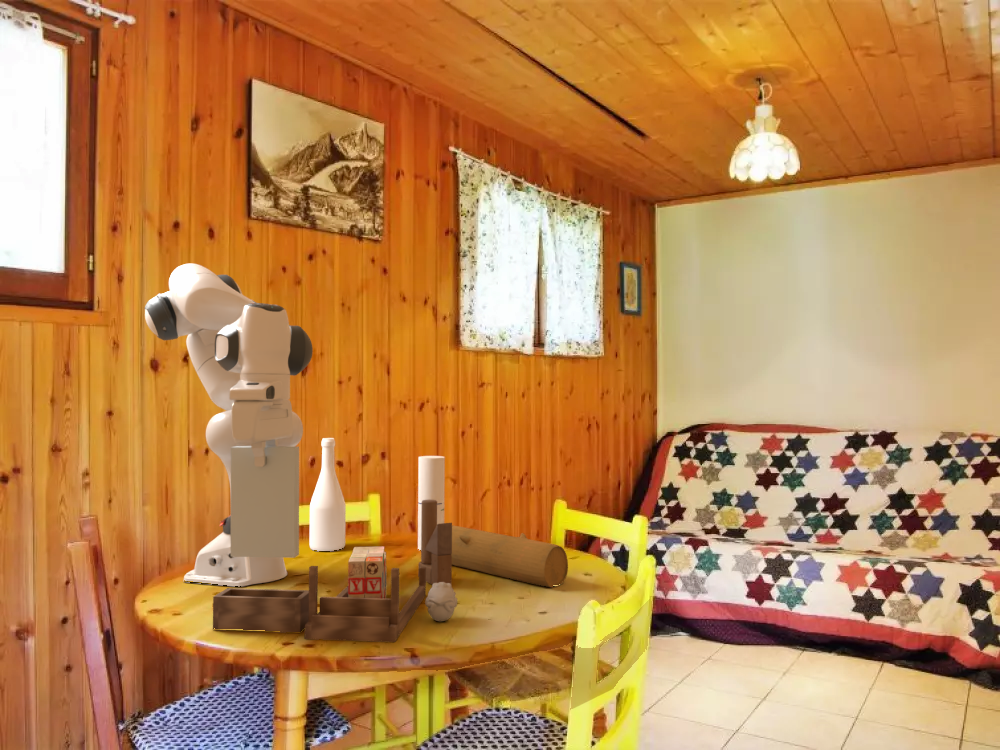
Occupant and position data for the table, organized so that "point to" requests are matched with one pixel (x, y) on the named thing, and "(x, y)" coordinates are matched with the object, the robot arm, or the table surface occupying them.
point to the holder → (261, 609)
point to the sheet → (265, 503)
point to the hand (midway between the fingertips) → (264, 465)
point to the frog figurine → (441, 601)
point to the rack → (361, 612)
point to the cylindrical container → (431, 486)
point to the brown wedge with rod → (435, 545)
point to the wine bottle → (327, 506)
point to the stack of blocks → (367, 573)
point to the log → (509, 556)
